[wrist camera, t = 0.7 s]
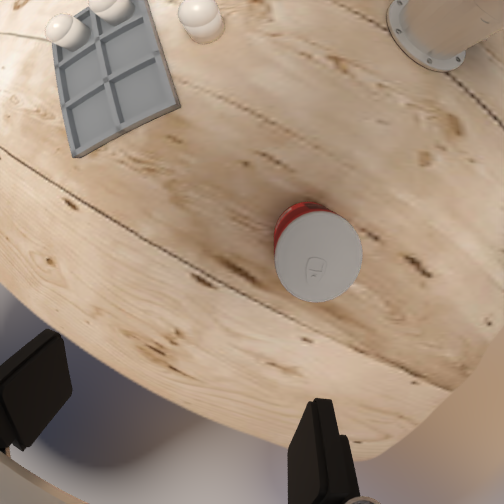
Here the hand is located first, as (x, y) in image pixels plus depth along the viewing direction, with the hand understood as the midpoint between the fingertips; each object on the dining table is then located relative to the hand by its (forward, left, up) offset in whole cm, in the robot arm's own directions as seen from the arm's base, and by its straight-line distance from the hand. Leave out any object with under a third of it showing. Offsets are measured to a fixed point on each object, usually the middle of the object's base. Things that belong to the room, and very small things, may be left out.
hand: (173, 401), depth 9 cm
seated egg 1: (+14, -37, -27) cm, 48 cm away
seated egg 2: (+6, -37, -27) cm, 46 cm away
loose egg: (-4, -27, -28) cm, 39 cm away
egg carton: (+10, -29, -28) cm, 41 cm away
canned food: (-7, +2, -28) cm, 29 cm away
